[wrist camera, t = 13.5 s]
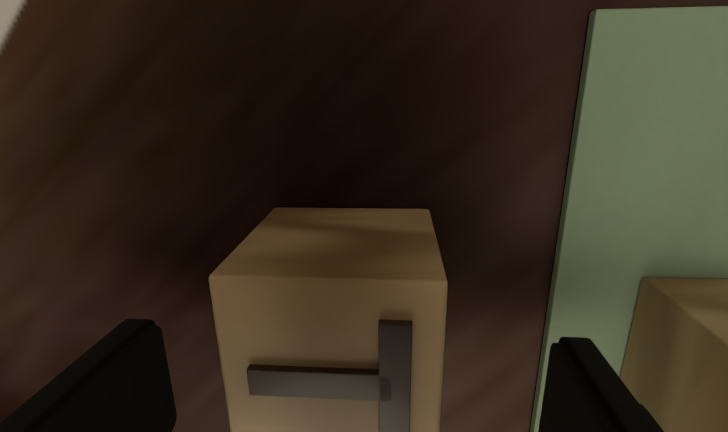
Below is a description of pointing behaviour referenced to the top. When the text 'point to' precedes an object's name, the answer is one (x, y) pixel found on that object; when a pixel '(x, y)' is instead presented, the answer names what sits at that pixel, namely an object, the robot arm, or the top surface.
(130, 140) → the top surface
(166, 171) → the top surface
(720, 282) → the letter I
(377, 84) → the top surface
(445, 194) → the top surface
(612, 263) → the word mat
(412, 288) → the letter T
